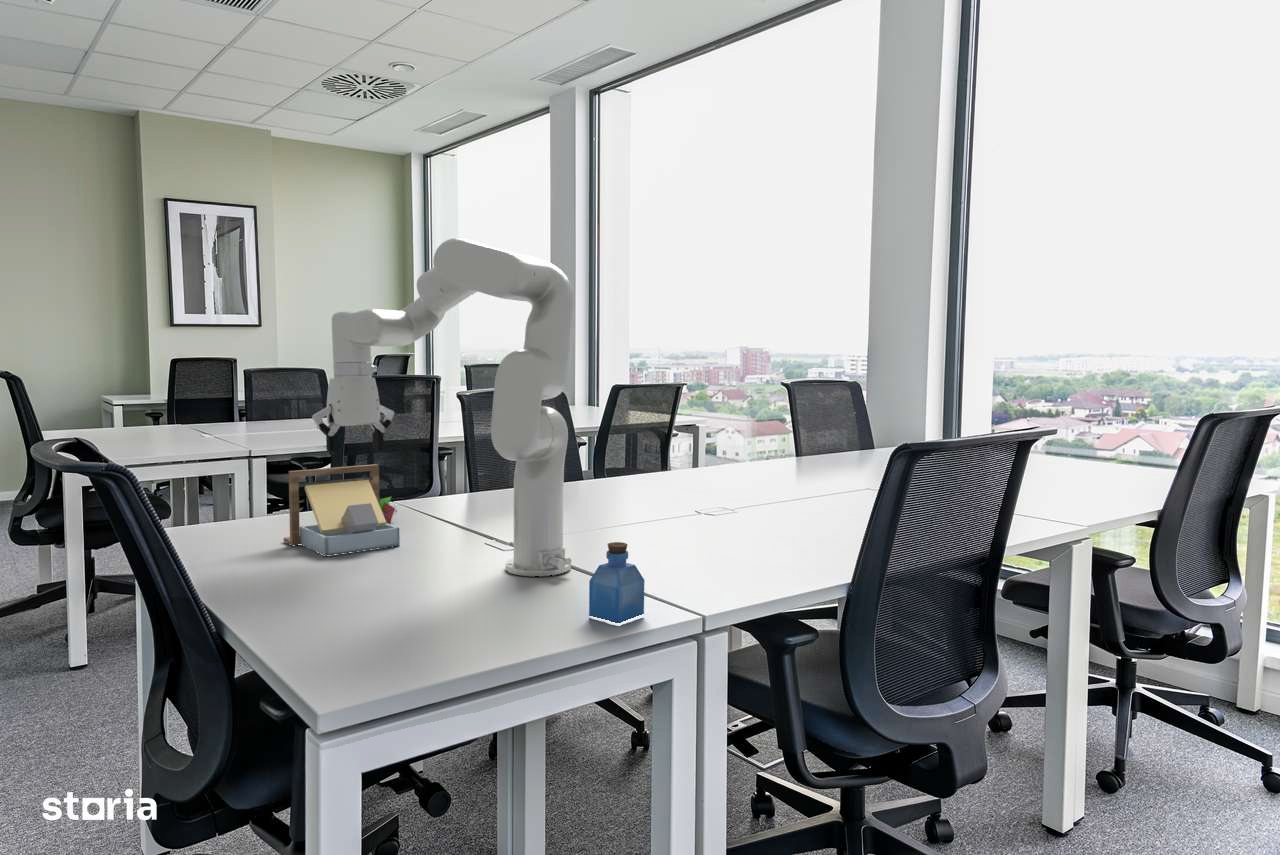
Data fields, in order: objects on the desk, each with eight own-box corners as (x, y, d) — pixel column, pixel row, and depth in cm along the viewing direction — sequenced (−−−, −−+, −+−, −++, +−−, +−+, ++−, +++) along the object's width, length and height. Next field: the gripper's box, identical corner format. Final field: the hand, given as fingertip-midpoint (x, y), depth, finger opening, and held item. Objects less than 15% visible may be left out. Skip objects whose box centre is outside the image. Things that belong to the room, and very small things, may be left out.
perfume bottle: (614, 610, 141) (615, 538, 139) (643, 618, 137) (645, 544, 136) (589, 618, 136) (589, 544, 135) (618, 627, 132) (619, 550, 131)
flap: (385, 524, 186) (386, 522, 185) (321, 533, 177) (322, 530, 176) (367, 482, 192) (368, 479, 191) (304, 488, 182) (305, 485, 182)
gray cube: (371, 536, 181) (378, 522, 178) (348, 539, 178) (355, 525, 175) (363, 516, 183) (371, 503, 181) (341, 519, 180) (348, 505, 177)
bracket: (380, 534, 194) (379, 465, 193) (293, 546, 182) (291, 472, 180) (369, 530, 199) (368, 462, 197) (283, 542, 186) (282, 469, 184)
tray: (399, 546, 184) (399, 527, 183) (325, 557, 173) (325, 537, 173) (371, 535, 194) (371, 517, 194) (300, 545, 183) (299, 526, 183)
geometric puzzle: (408, 513, 209) (392, 486, 210) (390, 518, 202) (373, 490, 204) (389, 529, 211) (373, 502, 213) (371, 534, 205) (354, 506, 206)
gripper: (383, 370, 187) (386, 448, 188) (304, 372, 175) (307, 455, 177) (399, 370, 181) (402, 451, 183) (318, 372, 170) (322, 457, 171)
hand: (355, 452), depth 180 cm, fingers open, 9 cm apart
